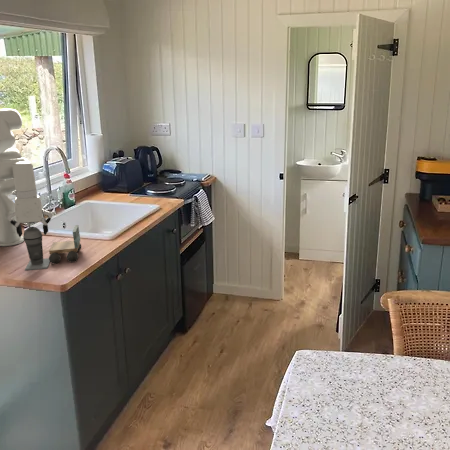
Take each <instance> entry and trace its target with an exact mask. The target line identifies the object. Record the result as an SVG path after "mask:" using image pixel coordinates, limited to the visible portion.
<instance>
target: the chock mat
mask: <svg viewBox="0 0 450 450" xmlns="http://www.w3.org/2000/svg"><path fill="white" fill-rule="evenodd" d="M50 263H51V262H50V261H49V257H45V258H43V263H42V264H40V265H32V264H31V261H30V260H29V262H28V263H27V265H26V266H25V268H24V271H35V270H44V269H45V270H46V269H48V268H49V266H50Z"/></svg>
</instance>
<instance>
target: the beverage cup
mask: <svg viewBox="0 0 450 450" xmlns="http://www.w3.org/2000/svg"><path fill="white" fill-rule="evenodd" d="M27 225H28V228H26V229H25V230H24V232H23V236H24V237H23V239H24V241H23V242H24V243H25V246H26V248H27V249H26V250H27V253H28V257H29V261H31V264H32V265H40V264H42V263H43V259H44V253H43V251H44V250H43V236H44V234H43V233H42V230H40V229H39V228H38V227H36V226H31V224H30V223H27Z"/></svg>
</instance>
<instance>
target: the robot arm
mask: <svg viewBox="0 0 450 450" xmlns="http://www.w3.org/2000/svg"><path fill="white" fill-rule="evenodd" d="M22 126H23V120H22V117H21V113H19V111H18V110H16V109H15V108H0V247H11V246H15V245H19V244H21V243H23V242H25V241H24V239H23V237H24V235H23V229H22V225H21V224H28V223H31V224H32V223H41V224H42V230H43V236H46V235H47V233H48V232H49V227H48V224H49V223H50V222H51V220H52V218H53V216H54V213H53V212H52V211H49V210H47V209H44V208H43V207H44V206H43V204H42V199H41V197H40V195H39V194H38V190H37V186H36V185H37V184H36V178H35V171H34V170H35V169H34V165H33V163H32V162H31V161H30V160H29V159H28V158H25V157H23V155H22V154H21V152H20V151H19V150H18V149H17V148H12V147H13V146H14V145H15V143H16V136H15V135H14V133H13V131H14V130H19V129H21V128H22ZM12 130H13V131H12ZM10 195H13V196H15V198H14V201H13V200H12V199H11V198H10V197H8V196H10ZM45 215H46V216H48V217H47V219H46V218H45Z"/></svg>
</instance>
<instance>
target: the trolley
mask: <svg viewBox="0 0 450 450" xmlns="http://www.w3.org/2000/svg"><path fill="white" fill-rule="evenodd" d="M72 237H73V240H66V241H54V242H52V244H51V246H50V248H49V251H48V252H49V257H48V258H49V261H50V263H51V264H52V265H53V264H54V265H57V264H59V263H60V262H61V259H62V258H61V255H60V254H66V260H67V261H68V262H70V263H75V262H77V261H78V258H79V254H78V253H79V252H80V251H81V249H82V243H81V234H80V229H79V225H78V224H76V225H74V228H73V231H72Z"/></svg>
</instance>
